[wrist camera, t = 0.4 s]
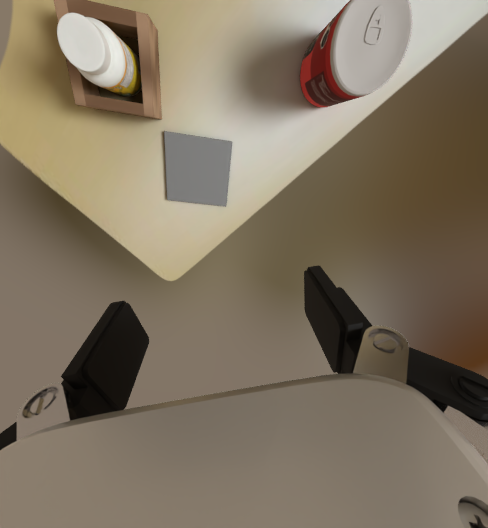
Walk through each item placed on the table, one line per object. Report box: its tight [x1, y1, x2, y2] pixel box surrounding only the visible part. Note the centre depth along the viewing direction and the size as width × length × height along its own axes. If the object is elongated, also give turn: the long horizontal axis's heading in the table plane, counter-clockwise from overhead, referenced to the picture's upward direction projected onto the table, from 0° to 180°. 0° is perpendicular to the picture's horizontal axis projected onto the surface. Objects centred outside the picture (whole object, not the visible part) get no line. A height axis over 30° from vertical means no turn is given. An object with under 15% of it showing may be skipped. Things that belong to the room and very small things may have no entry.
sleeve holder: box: [54, 0, 162, 119], centre depth 26 cm, size 9×9×4 cm
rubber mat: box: [164, 131, 232, 206], centre depth 35 cm, size 10×10×1 cm
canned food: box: [300, 0, 412, 107], centre depth 25 cm, size 8×8×11 cm
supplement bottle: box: [57, 13, 142, 96], centre depth 24 cm, size 5×5×10 cm
